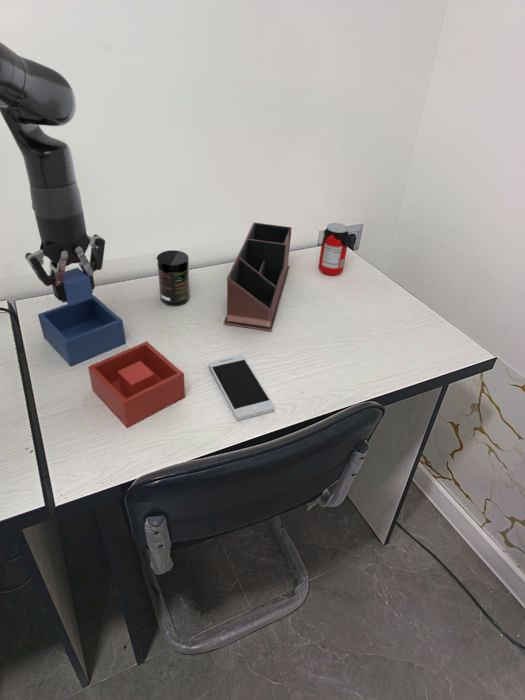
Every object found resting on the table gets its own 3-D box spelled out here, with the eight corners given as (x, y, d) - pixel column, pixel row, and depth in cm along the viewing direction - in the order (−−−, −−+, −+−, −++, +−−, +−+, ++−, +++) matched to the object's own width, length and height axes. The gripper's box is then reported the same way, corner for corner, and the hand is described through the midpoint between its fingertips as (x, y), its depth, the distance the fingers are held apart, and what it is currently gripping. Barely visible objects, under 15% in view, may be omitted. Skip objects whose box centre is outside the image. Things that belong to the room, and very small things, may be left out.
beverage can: (347, 271, 128) (355, 227, 120) (334, 279, 124) (341, 235, 116) (326, 262, 131) (333, 219, 123) (313, 271, 127) (319, 227, 119)
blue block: (70, 306, 90) (65, 284, 87) (59, 295, 92) (54, 274, 89) (93, 298, 92) (89, 277, 89) (81, 288, 95) (77, 267, 92)
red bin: (127, 428, 81) (123, 403, 78) (92, 390, 87) (87, 366, 84) (185, 397, 88) (184, 373, 84) (149, 364, 94) (146, 341, 90)
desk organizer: (289, 267, 128) (293, 226, 121) (271, 332, 105) (275, 286, 98) (249, 261, 129) (251, 220, 122) (223, 324, 106) (223, 278, 99)
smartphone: (237, 421, 84) (237, 417, 83) (207, 365, 95) (207, 361, 94) (275, 410, 86) (275, 407, 86) (242, 358, 97) (242, 354, 96)
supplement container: (195, 295, 114) (194, 255, 108) (180, 309, 109) (177, 268, 103) (170, 288, 116) (168, 247, 110) (154, 301, 111) (150, 260, 105)
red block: (134, 404, 85) (131, 384, 82) (120, 390, 87) (117, 371, 84) (156, 393, 87) (154, 373, 84) (142, 379, 90) (140, 360, 87)
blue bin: (70, 366, 92) (65, 342, 89) (43, 337, 98) (37, 314, 95) (126, 343, 99) (122, 320, 95) (97, 317, 105) (93, 294, 102)
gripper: (24, 226, 75) (47, 318, 86) (109, 205, 83) (120, 292, 94) (5, 210, 80) (29, 299, 90) (87, 191, 88) (101, 276, 98)
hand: (76, 295), depth 92 cm, fingers closed on blue block, 4 cm apart
